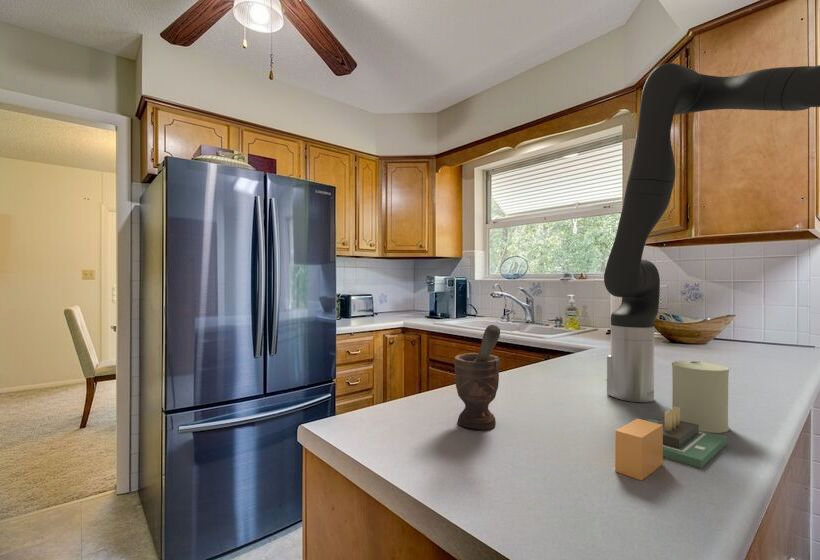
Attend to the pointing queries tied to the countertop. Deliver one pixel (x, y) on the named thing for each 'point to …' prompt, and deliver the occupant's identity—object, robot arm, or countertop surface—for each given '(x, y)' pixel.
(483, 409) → the mortar and pestle
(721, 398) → the can
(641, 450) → the block
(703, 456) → the header board
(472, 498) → the countertop surface
